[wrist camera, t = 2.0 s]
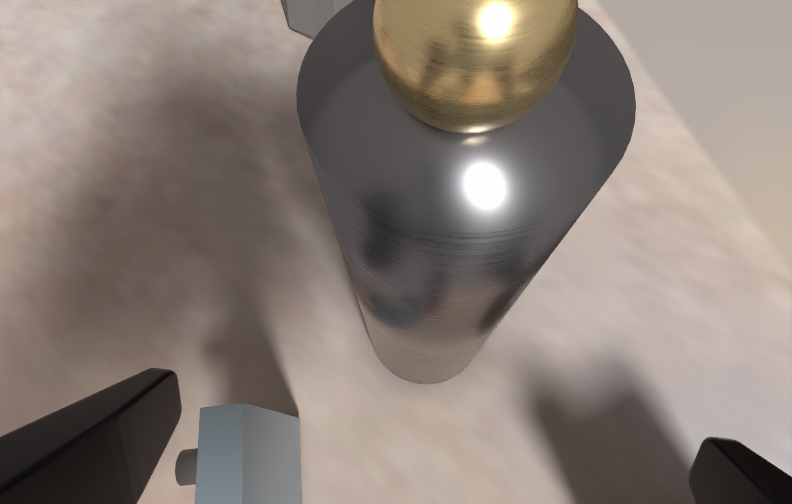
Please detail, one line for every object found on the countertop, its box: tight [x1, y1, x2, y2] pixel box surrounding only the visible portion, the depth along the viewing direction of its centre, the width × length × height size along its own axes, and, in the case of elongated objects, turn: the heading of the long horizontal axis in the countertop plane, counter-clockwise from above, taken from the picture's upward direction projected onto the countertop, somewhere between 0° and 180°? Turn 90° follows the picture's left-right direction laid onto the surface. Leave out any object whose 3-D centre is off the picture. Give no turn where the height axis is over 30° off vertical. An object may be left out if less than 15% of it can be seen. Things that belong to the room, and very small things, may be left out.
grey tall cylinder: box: [296, 0, 636, 384], centre depth 13 cm, size 5×5×17 cm
